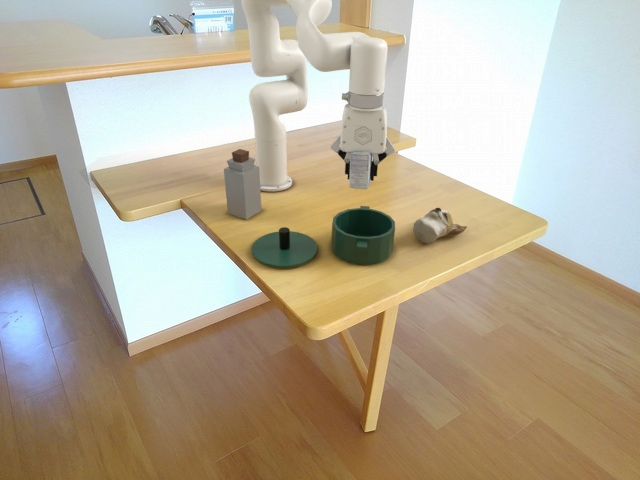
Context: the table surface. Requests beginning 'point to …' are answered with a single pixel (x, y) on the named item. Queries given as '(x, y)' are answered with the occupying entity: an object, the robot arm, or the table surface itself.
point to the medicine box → (360, 170)
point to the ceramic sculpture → (436, 226)
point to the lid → (284, 249)
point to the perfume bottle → (242, 185)
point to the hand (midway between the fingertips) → (360, 177)
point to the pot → (363, 236)
